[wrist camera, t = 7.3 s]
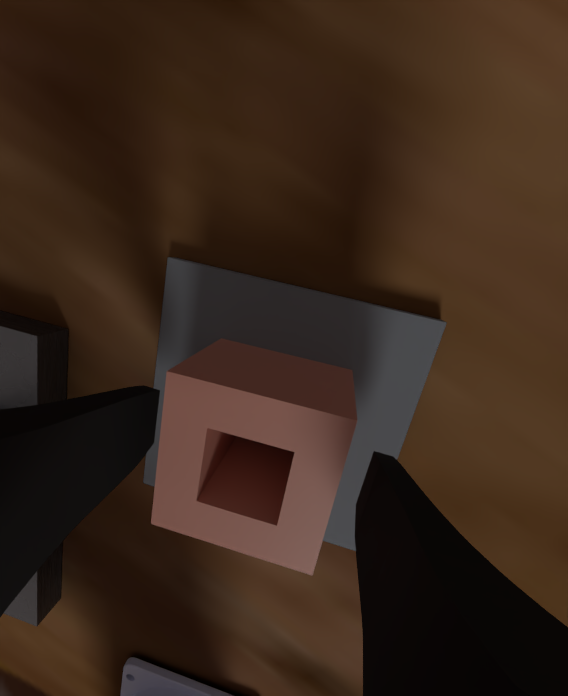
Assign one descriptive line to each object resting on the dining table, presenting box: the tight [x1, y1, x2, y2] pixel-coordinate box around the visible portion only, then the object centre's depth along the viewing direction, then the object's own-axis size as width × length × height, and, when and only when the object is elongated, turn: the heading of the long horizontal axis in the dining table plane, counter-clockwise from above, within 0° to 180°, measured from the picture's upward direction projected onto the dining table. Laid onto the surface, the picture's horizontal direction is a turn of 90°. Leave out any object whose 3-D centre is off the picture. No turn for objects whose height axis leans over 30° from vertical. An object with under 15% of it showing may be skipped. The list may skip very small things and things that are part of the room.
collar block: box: [151, 338, 357, 575], centre depth 11 cm, size 5×5×4 cm
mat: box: [143, 257, 446, 551], centre depth 13 cm, size 10×10×1 cm
